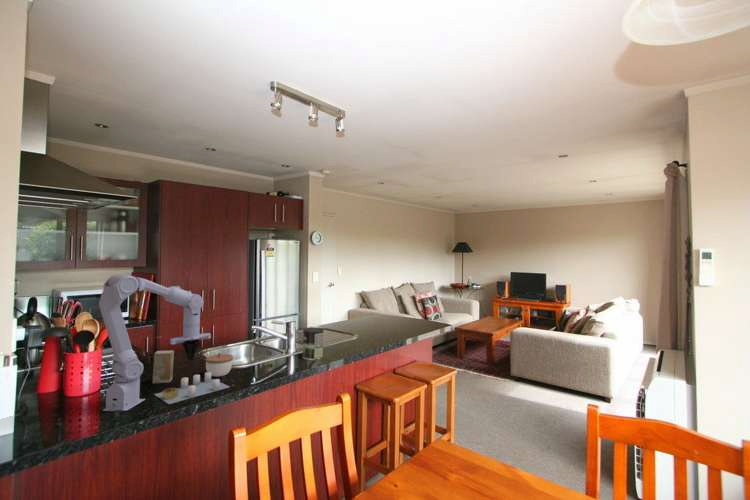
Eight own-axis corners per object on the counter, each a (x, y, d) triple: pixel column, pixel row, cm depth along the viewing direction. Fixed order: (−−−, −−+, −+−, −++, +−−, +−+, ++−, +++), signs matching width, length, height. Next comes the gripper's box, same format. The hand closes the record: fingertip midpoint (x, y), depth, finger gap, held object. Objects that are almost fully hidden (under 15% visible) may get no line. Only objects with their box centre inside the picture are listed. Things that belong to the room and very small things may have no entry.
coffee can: (303, 360, 178) (304, 332, 179) (301, 355, 188) (302, 327, 189) (324, 359, 182) (325, 331, 182) (321, 354, 191) (321, 327, 192)
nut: (177, 398, 128) (177, 391, 128) (160, 400, 126) (160, 393, 126) (179, 394, 132) (179, 387, 132) (163, 395, 130) (163, 388, 130)
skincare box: (152, 384, 142) (153, 353, 142) (155, 381, 146) (156, 350, 147) (170, 383, 144) (171, 352, 144) (173, 380, 148) (174, 349, 148)
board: (168, 405, 123) (169, 393, 123) (154, 395, 131) (154, 384, 131) (230, 388, 140) (230, 377, 140) (213, 380, 148) (213, 370, 148)
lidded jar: (199, 377, 152) (199, 354, 152) (219, 370, 162) (220, 348, 162) (217, 381, 148) (218, 358, 148) (238, 373, 157) (238, 352, 157)
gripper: (176, 328, 133) (175, 366, 133) (214, 323, 144) (213, 358, 144) (168, 326, 138) (167, 362, 137) (206, 321, 149) (205, 354, 149)
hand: (190, 359), depth 141 cm, fingers closed
